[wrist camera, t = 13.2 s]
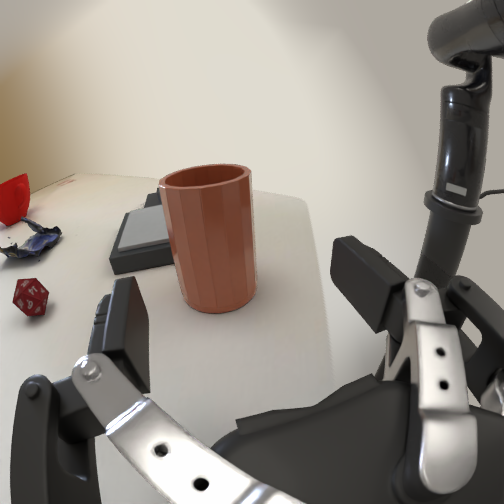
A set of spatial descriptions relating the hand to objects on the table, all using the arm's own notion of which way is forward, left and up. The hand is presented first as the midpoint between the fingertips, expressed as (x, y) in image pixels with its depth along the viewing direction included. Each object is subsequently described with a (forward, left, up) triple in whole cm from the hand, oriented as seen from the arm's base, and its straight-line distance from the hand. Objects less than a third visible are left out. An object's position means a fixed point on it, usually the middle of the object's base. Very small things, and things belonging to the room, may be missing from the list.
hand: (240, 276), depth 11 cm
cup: (0, -11, -8) cm, 14 cm away
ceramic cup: (+45, -51, -9) cm, 68 cm away
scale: (+4, -23, -8) cm, 25 cm away
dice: (+19, -12, -9) cm, 24 cm away
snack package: (+28, -28, -9) cm, 40 cm away
